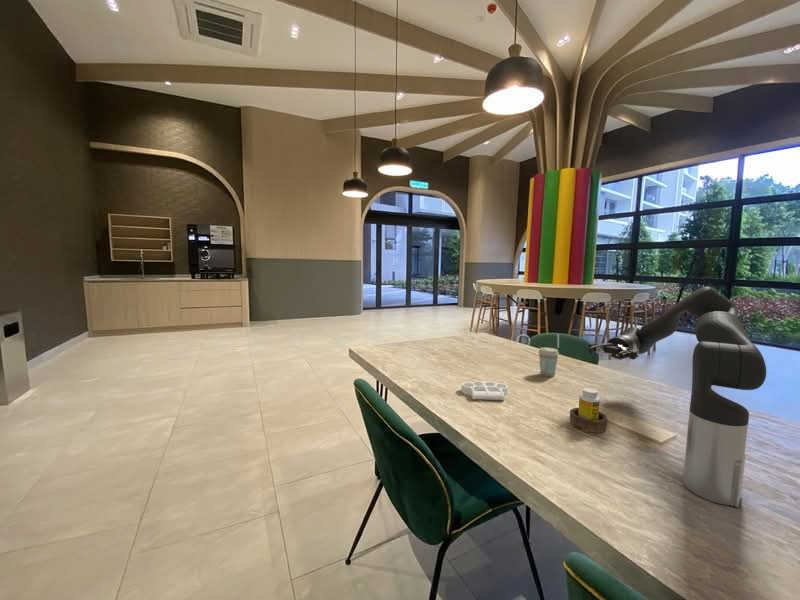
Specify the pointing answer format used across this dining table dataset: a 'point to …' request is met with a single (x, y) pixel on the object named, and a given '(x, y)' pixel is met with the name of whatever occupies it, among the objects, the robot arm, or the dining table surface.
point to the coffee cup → (548, 361)
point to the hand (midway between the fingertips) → (604, 353)
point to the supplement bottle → (589, 404)
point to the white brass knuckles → (485, 390)
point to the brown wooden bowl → (588, 422)
